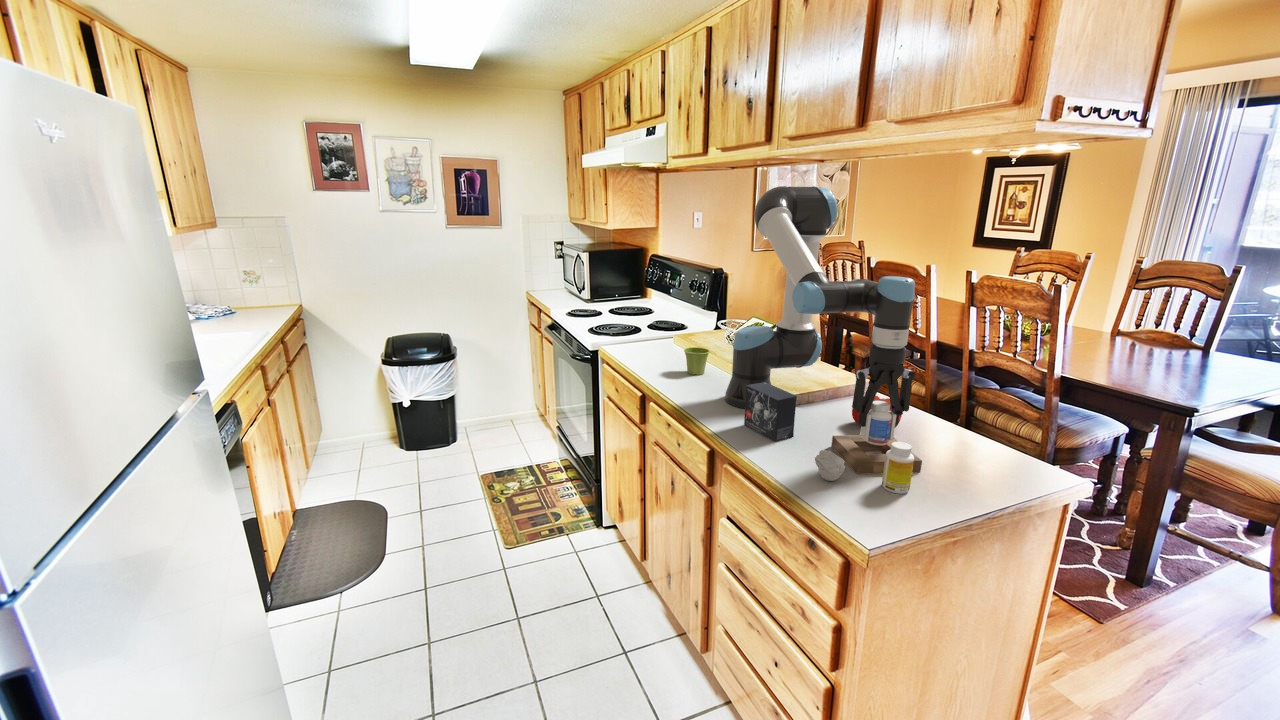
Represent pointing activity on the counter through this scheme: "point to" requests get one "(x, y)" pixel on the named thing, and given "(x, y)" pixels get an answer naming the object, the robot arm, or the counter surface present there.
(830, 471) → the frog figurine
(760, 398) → the small box
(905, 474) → the supplement bottle
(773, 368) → the robot arm
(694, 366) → the plant pot
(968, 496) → the counter surface
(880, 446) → the walnut holder block
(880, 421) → the pill bottle
